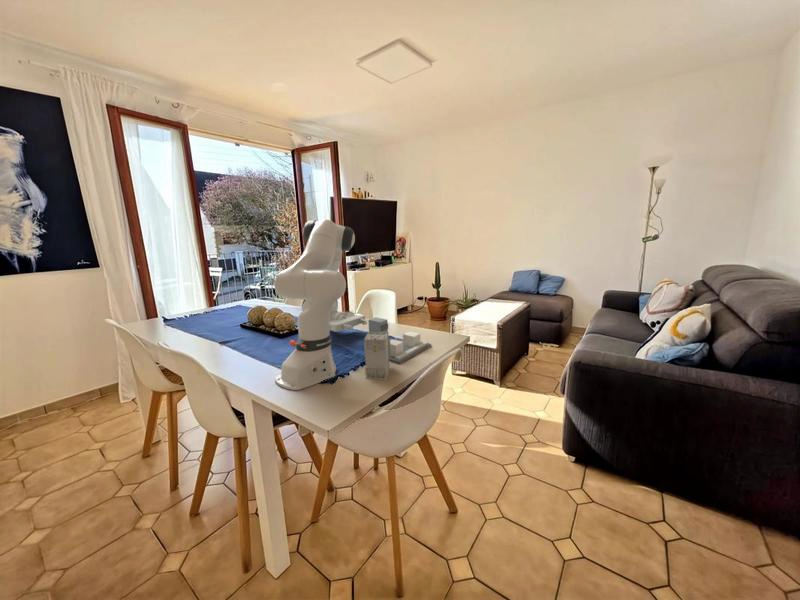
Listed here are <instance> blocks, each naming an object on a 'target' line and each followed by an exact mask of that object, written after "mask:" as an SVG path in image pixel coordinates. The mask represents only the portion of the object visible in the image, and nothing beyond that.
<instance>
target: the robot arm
mask: <svg viewBox="0 0 800 600" xmlns="http://www.w3.org/2000/svg"><path fill="white" fill-rule="evenodd" d="M302 237H303V240H304V241H305V243H306V244H305V247H304V249H303V252H302V254H301V255H300V257H299V258H298V259H297V260H296V261H295V262H294V263H293V264H291V265H290V266H288V267H287V268H286V269H284V270H281V271H279V273H277V275H276V277H275V278H274V289H275V291H276V293H277V294H278V296H279V297H281V298H284V299H289V300H300V301H301V300H302V304H301V312H300V313H299V315H298V317H297V329H298V337H297V341H296V340H293V339H291V340H290V341H289V345H290V347H291V346H292V347H295V349H294V350H292V352H291V353H290V354H289V356H288V357H287V358H286V359H285V360H284V361H283V363H282V364H281V372H280V374H278V375H277V376H275V378H274V381H275V384H276V385H278V386H280V387H282V388H284V389H286V390H287V389H288V390H292V391H300V390H303V389H307V388H309V387H311V386H313V385H316V384H319V383H322V382H324V381H323V380H325V379H328V378H331V377H333V378H335V377H336V371H337V367H336V366H337V365H336V364H335V361H334V357H333V353H332V352H333V351H332V334H331V333H330V331H332V332H334V333H339V332H341V331H345V330H351V331H352V330H353V329H354V327H356V326H359V325H367V324H368V322H367V320H366V316H365V315H364V314H362V313H358V312H353V311H351V310H347V311H338V309H339V302H338V300H339V299H341V297H343V296H344V294H345V292H346V288H347V281H346V278H345V276H344V274H343V273H342V272H341V271H339V269H340V267H341V265H342V260H343V252H347V251H348V252H349V251H350V250H351V249H352V247H353V246H354V244H355V241H356V235H355V231H354V230H353V228H352V227H349V226H344V225H340V224H337V223H335V222H334V221H332V220H330V219H325V218H323V219H320V220H318V221H317V220H316V219H311V220H308V221H305V224H304V226H303V228H302ZM334 376H335V377H334ZM331 379H332V378H331ZM328 380H329V379H328ZM321 381H322V382H321ZM325 381H326V380H325Z"/></svg>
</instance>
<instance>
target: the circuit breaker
mask: <svg viewBox="0 0 800 600" xmlns="http://www.w3.org/2000/svg"><path fill="white" fill-rule="evenodd" d="M363 340H364V344H363V347H364V349H363V350H364V355H365V357H364V358H365V360H364V361H365V366H364V368H365V369H364V370H365V374H364V375H365V376H366V377H365V379H367V380H387V378H388V374H389V372H390V361H389V359H390V356H391V354H390V340H391V338H390V337H389V332H369V331H368V332H367V334H366V335H365V337H364V339H363Z"/></svg>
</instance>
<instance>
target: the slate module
mask: <svg viewBox="0 0 800 600" xmlns="http://www.w3.org/2000/svg"><path fill="white" fill-rule="evenodd" d="M388 330H389V323H388V319H385V318H381V317H373V318H370V319H368V332H388ZM388 333H389V332H388Z"/></svg>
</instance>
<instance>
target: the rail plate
mask: <svg viewBox="0 0 800 600" xmlns="http://www.w3.org/2000/svg"><path fill="white" fill-rule="evenodd" d="M430 346H431V347H432V343H429V341H425V340H424V341H421V333H419V332H413V331H411V330H410V331H407V332H405V333H403V334H402V339H401V340H397V339H392V338H391V339H390V354H391V356H390V359H389V363H390V362H391V363H395V364H398V365H401V364H403V363H404V362H406V361H408V360H410V359H411V358H413V357H415V356H417V355H418V354H420V353H422V352H423V351H425V350H427V349H429V348H431V347H430ZM428 347H429V348H428Z"/></svg>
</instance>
